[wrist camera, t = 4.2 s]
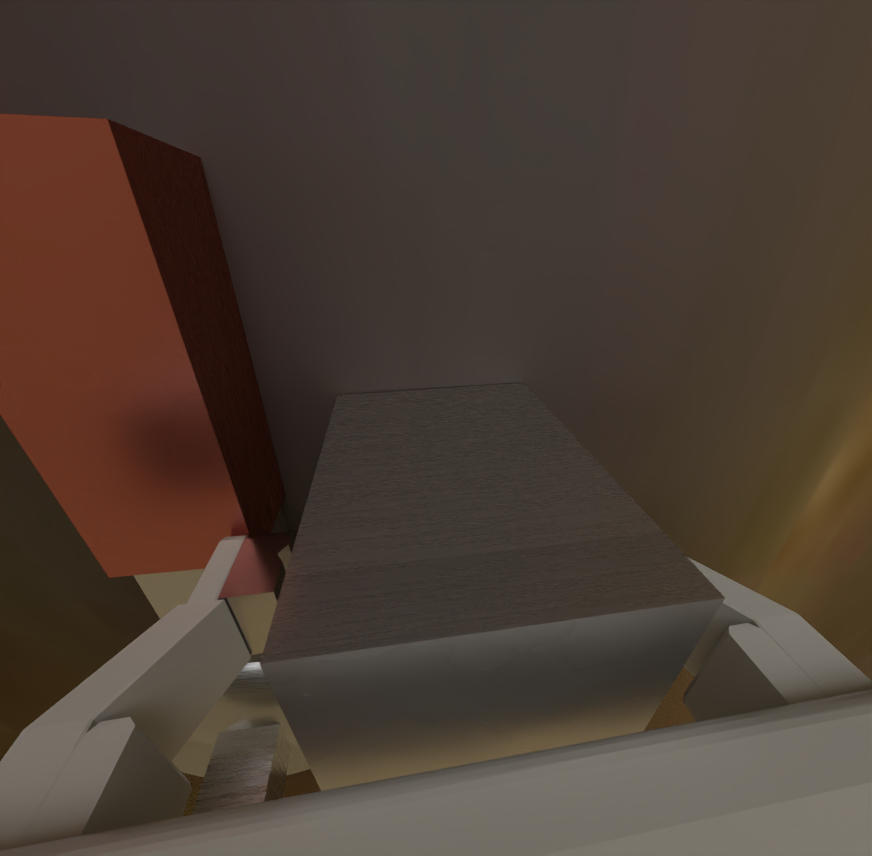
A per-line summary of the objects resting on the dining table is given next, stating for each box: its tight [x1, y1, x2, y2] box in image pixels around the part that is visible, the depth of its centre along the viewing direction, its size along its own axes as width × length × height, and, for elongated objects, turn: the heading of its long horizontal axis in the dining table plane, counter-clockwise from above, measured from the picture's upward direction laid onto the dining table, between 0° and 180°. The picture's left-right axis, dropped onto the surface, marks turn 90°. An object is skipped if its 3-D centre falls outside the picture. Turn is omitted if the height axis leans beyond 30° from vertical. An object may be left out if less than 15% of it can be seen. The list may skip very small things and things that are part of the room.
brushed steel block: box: [260, 383, 725, 791], centre depth 8 cm, size 5×5×6 cm
